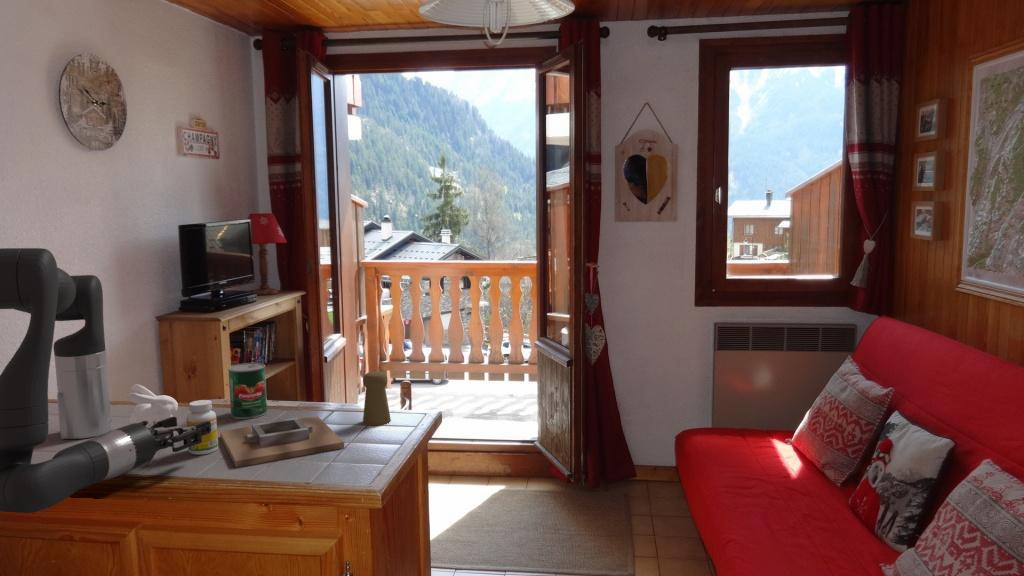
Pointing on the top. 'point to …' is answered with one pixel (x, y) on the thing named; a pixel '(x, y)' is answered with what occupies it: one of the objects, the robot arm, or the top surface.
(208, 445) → the supplement bottle
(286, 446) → the holder
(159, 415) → the rabbit
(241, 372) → the canned tomato
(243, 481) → the top surface
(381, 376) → the cork
